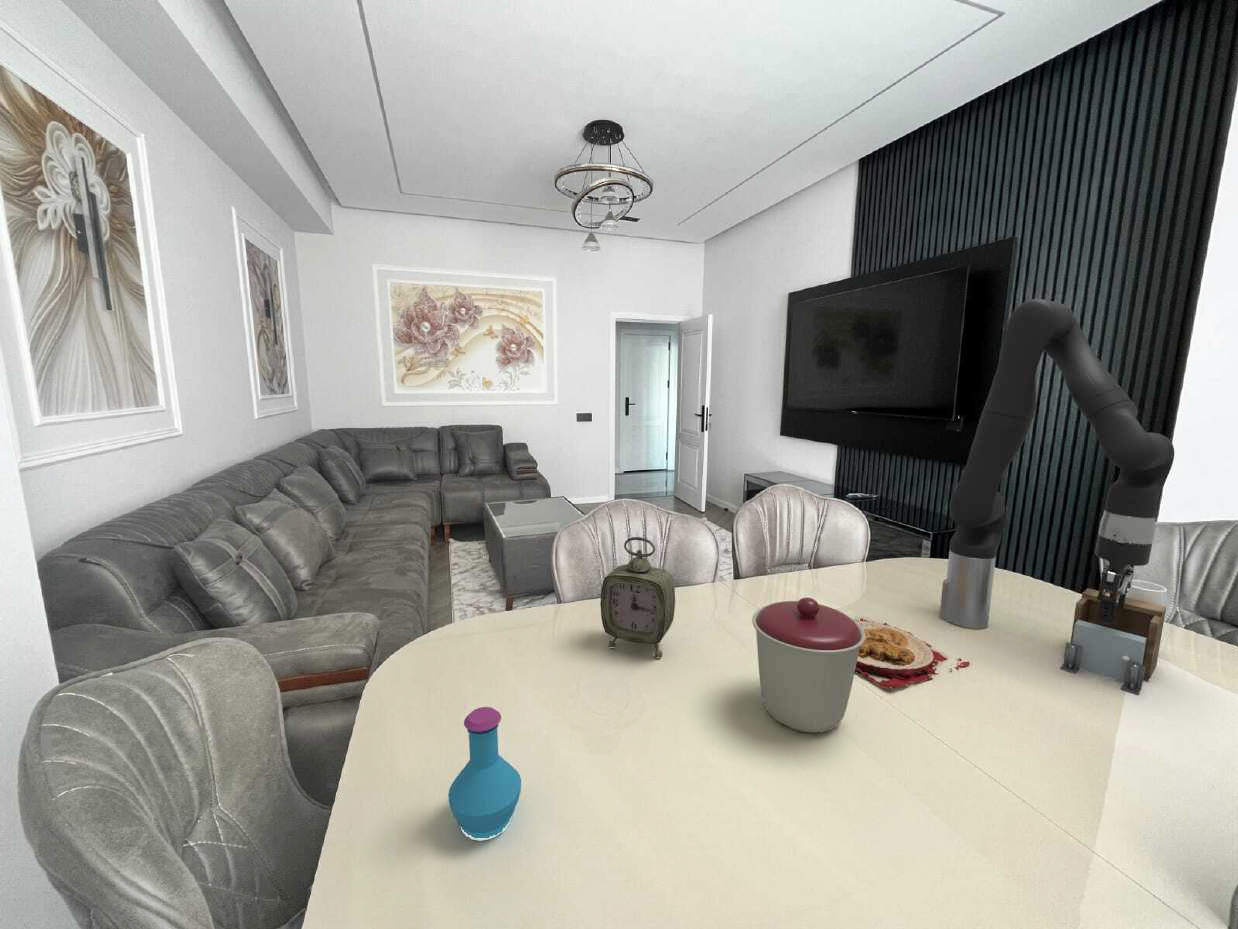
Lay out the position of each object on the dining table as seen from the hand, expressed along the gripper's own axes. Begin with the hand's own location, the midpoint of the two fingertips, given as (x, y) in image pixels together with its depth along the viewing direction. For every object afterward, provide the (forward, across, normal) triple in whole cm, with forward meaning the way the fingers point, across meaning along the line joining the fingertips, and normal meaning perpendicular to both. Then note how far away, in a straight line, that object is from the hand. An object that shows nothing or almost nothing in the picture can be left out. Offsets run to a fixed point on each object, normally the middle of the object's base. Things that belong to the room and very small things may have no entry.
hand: (1110, 615), depth 102 cm
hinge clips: (+12, +3, +1) cm, 12 cm away
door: (+12, 0, 0) cm, 12 cm away
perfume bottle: (+13, +113, -40) cm, 121 cm away
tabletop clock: (+14, +68, -63) cm, 94 cm away
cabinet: (+12, -7, 0) cm, 14 cm away
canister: (+13, +60, -28) cm, 67 cm away
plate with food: (+14, +27, -32) cm, 44 cm away
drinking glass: (+12, -17, +2) cm, 21 cm away
